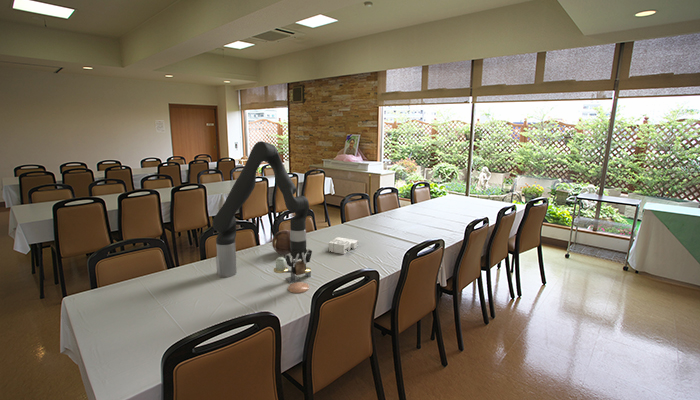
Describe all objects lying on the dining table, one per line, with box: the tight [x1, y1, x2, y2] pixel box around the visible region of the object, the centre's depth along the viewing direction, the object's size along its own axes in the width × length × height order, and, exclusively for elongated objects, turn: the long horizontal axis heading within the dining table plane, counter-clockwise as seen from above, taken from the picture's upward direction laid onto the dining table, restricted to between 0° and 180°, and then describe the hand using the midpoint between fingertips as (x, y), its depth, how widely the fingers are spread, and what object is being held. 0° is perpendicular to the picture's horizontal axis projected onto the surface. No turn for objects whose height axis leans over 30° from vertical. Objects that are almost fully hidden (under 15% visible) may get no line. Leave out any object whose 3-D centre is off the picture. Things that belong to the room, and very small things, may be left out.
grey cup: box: [275, 256, 287, 271], centre depth 170 cm, size 5×5×6 cm
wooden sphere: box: [271, 229, 291, 256], centre depth 211 cm, size 15×15×15 cm
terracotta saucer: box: [287, 281, 310, 294], centre depth 167 cm, size 10×10×1 cm
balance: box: [273, 266, 312, 284], centre depth 175 cm, size 20×7×7 cm, turn 126°
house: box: [328, 236, 359, 256], centre depth 222 cm, size 22×18×6 cm
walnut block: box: [295, 260, 305, 276], centre depth 165 cm, size 4×4×5 cm
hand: (298, 272), depth 166 cm, fingers closed on walnut block, 4 cm apart
